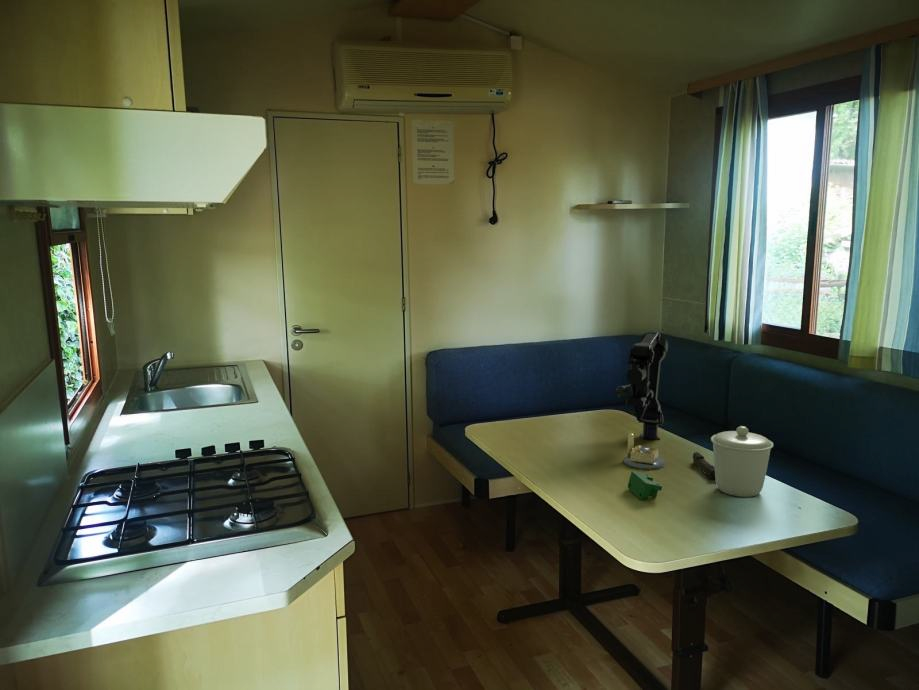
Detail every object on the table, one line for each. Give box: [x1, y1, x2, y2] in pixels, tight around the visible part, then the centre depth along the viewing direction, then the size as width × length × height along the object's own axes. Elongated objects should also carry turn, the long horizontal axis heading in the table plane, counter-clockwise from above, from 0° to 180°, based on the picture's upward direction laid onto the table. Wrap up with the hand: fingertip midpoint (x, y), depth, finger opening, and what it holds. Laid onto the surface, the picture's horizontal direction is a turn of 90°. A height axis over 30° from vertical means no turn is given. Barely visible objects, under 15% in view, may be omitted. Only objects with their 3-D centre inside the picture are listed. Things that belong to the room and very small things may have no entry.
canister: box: [710, 425, 774, 498], centre depth 219 cm, size 18×18×21 cm
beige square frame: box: [626, 432, 659, 464], centre depth 247 cm, size 8×10×8 cm
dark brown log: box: [692, 451, 716, 482], centre depth 239 cm, size 19×4×5 cm, turn 0°
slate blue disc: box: [623, 446, 666, 470], centre depth 247 cm, size 14×14×6 cm
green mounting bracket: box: [627, 470, 663, 501], centre depth 218 cm, size 12×6×9 cm, turn 3°
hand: (639, 420), depth 260 cm, fingers closed
